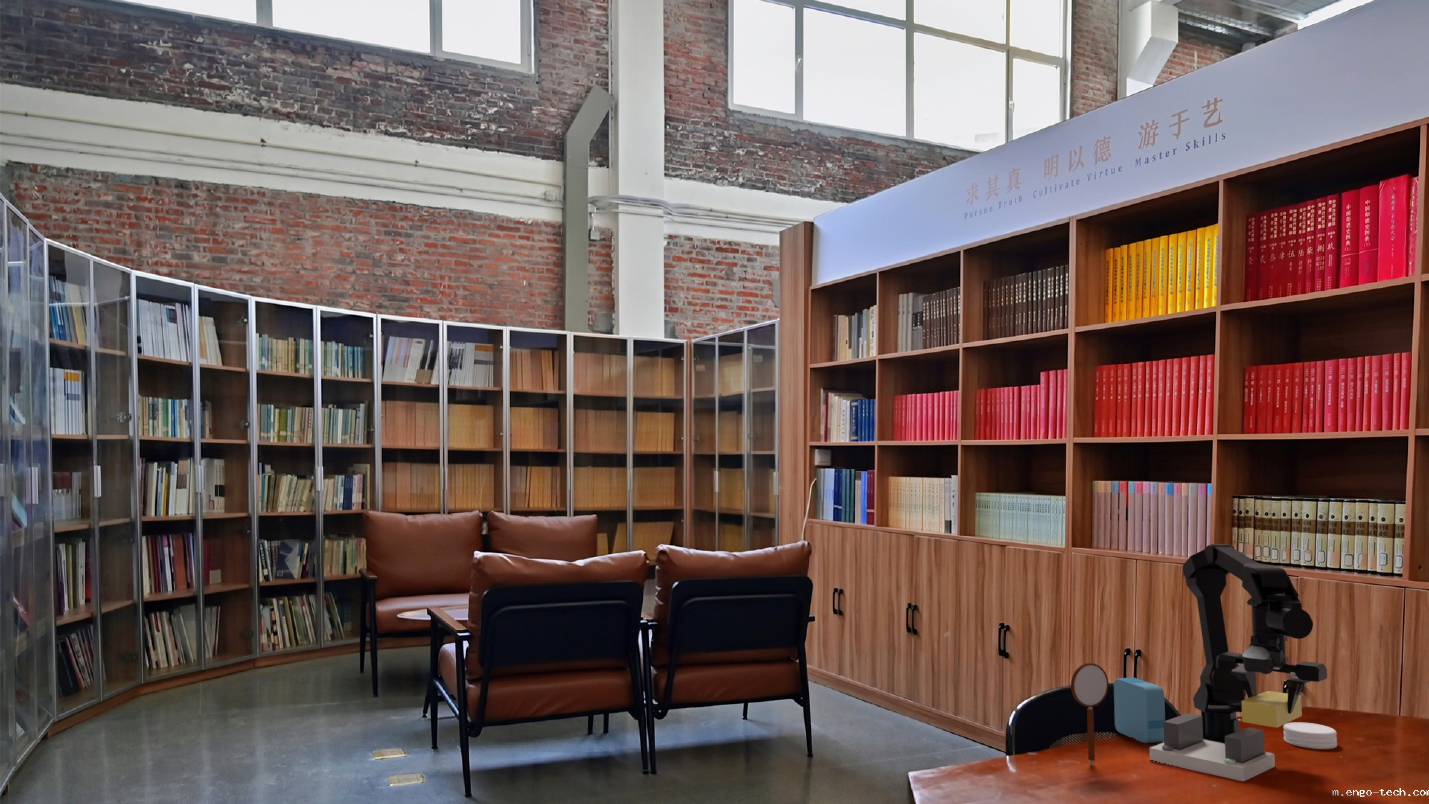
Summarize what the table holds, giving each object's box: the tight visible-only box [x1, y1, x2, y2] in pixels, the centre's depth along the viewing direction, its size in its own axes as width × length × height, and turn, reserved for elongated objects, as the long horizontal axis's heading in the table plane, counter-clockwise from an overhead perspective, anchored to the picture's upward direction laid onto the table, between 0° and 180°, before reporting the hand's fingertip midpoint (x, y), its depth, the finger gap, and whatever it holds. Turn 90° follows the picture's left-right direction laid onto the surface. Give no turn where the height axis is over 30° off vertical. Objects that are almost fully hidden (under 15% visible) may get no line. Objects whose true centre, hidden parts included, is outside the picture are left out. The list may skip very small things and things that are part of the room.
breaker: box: [1163, 712, 1204, 750], centre depth 204 cm, size 3×11×5 cm, turn 131°
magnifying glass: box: [1070, 662, 1109, 766], centre depth 198 cm, size 9×2×20 cm, turn 107°
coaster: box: [1282, 721, 1338, 750], centre depth 214 cm, size 10×10×4 cm
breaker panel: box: [1149, 739, 1276, 782], centre depth 198 cm, size 18×15×3 cm
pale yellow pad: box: [1241, 690, 1303, 728], centre depth 197 cm, size 6×14×4 cm, turn 133°
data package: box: [1113, 677, 1166, 744], centre depth 219 cm, size 12×4×12 cm, turn 11°
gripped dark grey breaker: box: [1224, 726, 1266, 764], centre depth 195 cm, size 3×11×5 cm, turn 131°
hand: (1271, 710), depth 197 cm, fingers closed on pale yellow pad, 6 cm apart
